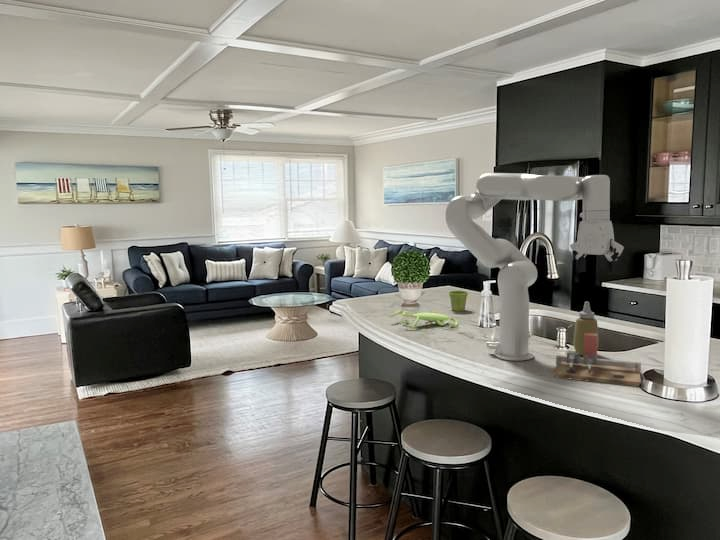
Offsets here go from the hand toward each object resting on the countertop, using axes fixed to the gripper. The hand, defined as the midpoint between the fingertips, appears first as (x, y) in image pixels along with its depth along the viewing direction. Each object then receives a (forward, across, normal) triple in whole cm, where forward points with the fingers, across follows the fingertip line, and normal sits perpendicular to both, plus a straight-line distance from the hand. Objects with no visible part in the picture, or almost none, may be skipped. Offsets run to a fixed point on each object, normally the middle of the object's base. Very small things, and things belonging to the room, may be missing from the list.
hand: (595, 273), depth 171 cm
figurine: (+28, -80, -3) cm, 85 cm away
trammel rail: (+28, +4, -6) cm, 29 cm away
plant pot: (+28, -93, +30) cm, 102 cm away
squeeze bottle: (+30, -11, +10) cm, 33 cm away
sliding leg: (+28, +3, -6) cm, 29 cm away
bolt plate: (+30, +4, -6) cm, 31 cm away
